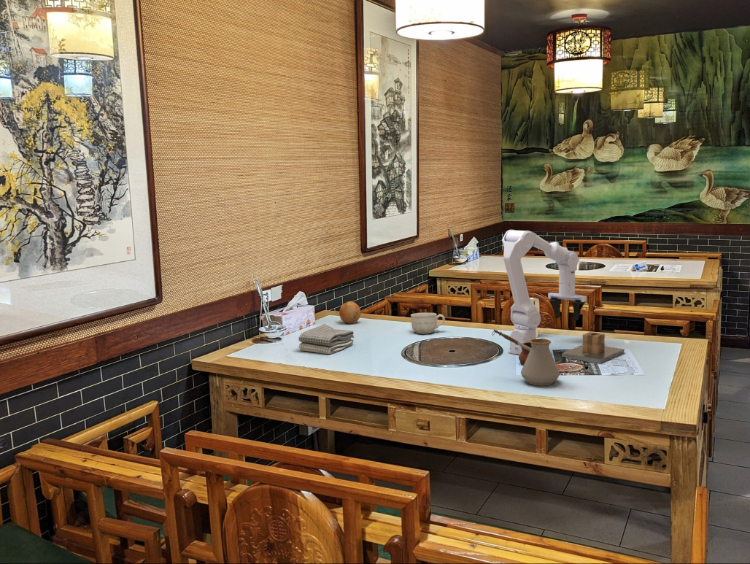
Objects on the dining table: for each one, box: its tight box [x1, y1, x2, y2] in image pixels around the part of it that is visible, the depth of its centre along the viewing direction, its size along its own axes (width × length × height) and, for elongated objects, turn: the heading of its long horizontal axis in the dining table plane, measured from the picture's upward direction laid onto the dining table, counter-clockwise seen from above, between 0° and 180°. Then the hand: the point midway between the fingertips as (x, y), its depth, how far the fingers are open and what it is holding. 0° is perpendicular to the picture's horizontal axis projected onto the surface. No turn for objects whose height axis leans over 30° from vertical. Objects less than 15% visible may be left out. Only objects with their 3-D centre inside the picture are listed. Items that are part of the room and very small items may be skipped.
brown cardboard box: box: [582, 331, 606, 354], centre depth 234 cm, size 5×5×6 cm
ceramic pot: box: [518, 342, 560, 367], centre depth 226 cm, size 18×18×7 cm
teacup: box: [410, 312, 446, 335], centre depth 278 cm, size 14×11×8 cm
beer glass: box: [529, 297, 540, 339], centre depth 265 cm, size 7×7×15 cm
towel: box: [298, 323, 355, 355], centre depth 257 cm, size 15×18×8 cm
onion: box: [338, 300, 362, 324], centre depth 303 cm, size 10×10×10 cm
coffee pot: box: [491, 329, 560, 387], centre depth 207 cm, size 21×12×15 cm, turn 56°
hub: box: [561, 344, 625, 365], centre depth 234 cm, size 18×14×6 cm
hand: (566, 318), depth 251 cm, fingers open, 7 cm apart
